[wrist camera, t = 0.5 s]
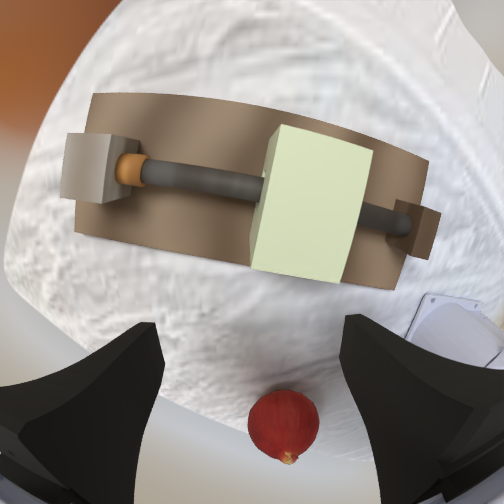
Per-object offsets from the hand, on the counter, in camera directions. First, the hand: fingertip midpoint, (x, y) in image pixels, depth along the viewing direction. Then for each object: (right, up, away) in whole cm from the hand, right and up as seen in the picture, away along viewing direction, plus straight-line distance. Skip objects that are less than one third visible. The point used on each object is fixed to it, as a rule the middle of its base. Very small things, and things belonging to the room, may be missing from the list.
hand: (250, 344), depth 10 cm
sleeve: (+2, +7, +6) cm, 10 cm away
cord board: (0, +8, +7) cm, 11 cm away
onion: (+3, -9, +13) cm, 16 cm away
